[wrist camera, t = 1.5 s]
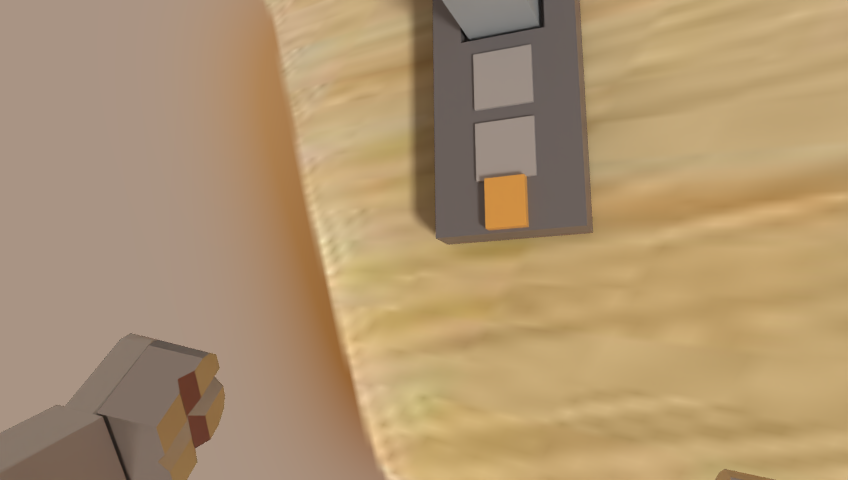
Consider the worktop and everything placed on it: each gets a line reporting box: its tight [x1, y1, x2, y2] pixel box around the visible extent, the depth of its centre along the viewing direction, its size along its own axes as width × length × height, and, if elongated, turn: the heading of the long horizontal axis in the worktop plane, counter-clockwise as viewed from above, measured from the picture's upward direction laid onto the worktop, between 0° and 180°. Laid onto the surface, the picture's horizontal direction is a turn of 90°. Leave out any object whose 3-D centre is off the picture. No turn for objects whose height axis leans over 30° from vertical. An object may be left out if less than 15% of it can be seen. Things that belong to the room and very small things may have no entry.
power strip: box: [433, 0, 593, 244], centre depth 43 cm, size 9×22×3 cm, turn 2°
